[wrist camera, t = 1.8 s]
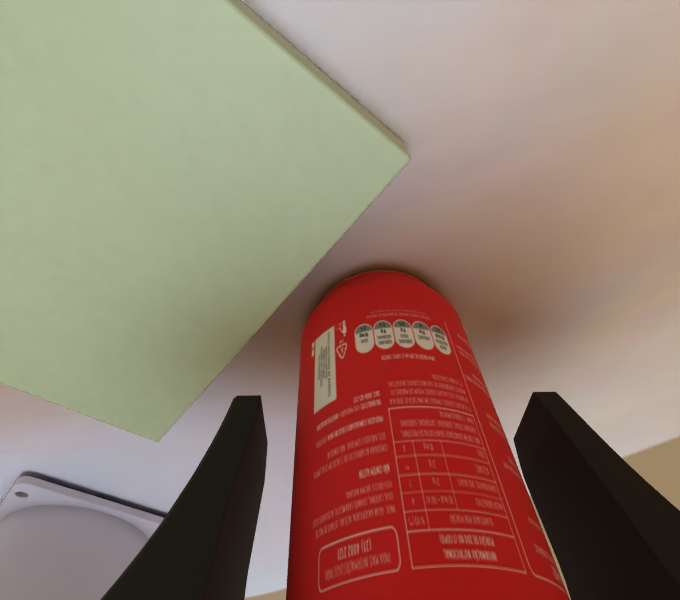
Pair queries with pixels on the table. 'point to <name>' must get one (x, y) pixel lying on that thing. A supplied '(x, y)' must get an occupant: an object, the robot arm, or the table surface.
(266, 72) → the board
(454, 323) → the beverage can
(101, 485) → the table surface
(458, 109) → the table surface
